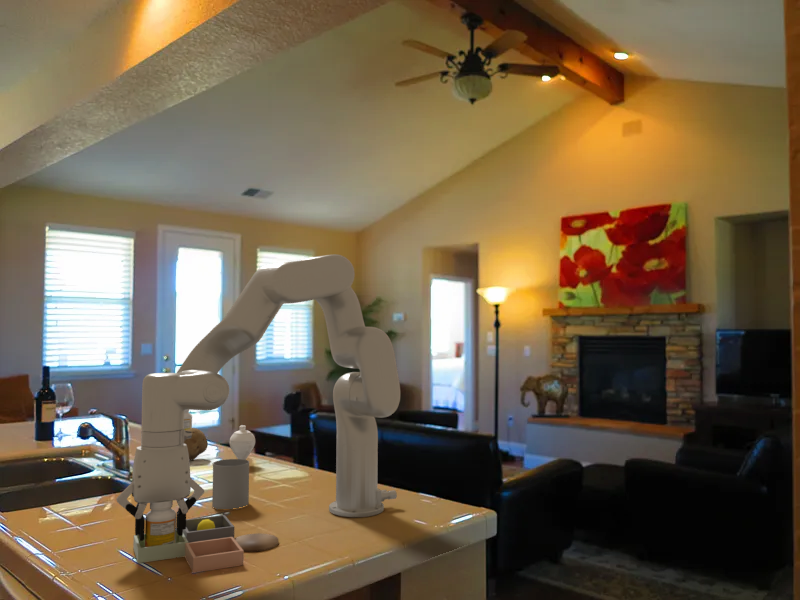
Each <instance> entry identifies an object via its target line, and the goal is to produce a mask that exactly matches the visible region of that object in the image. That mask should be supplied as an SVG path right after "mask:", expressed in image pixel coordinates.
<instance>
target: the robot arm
mask: <svg viewBox="0 0 800 600" xmlns="http://www.w3.org/2000/svg"><path fill="white" fill-rule="evenodd" d="M355 274H356V273H355V268H354V265H353V263H352V262H351V260H349V259H348V258H347V257H345V256H344V255H341V254H335V253H334V254H326V255H318V256H312V257H307V258H303V259H300V260H295V261H294V260H293V261H284V262H277V263H271V264H270V263H269V264H266V265H263V266H261V267H260V268H258V269H257V270H256V271H255V272H254V273H253V275H252V276H251V278H250V279H249V280H248V282H247V284H245V287H244V288H243V290H242V291H241V292H240V294H239V295H238V297H237V298H236V299H235V301H234V302H233V304H232V306H231V307H230V309H229V310H228V312H227V313H226V314H225V316H224V317H223V318H222V320H221V321H219V322H218V324H216V325H215V326H214V327H213V328H212V329H211V330H210V331H209V333H207V334H206V335H205V336H204V337H203V338H202V339H201V340H200V341H198V343H197V344H196V345H195V346H194V348H192V350H190V352H189V354H188V356H186V358H185V359H184V361H183V363H182V364H181V366H180V367H179V368H178V370H177V372H155V373H149V374H146V375H145V377H143V380H142V386H141V387H142V388H141V389H142V391H141V394H142V395H141V436H140V437H141V438H140V445H139V446H136V449H135V453H134V458H133V467H132V476H131V477H132V478H131V480H132V481H131V482H130V484H129V485H127V487H125V489H124V490H123V491H122V492H121V493H120V494H119V495H118V496H117V497H116V502H117V504H119V505H120V506H121V508H123V509H125V510H126V511H127V512H128V513H129V514H130V515H131V516H133V518H135V520H134V521H135V522H134V535H135V536H137V535H139V539H140V541H143V540H144V534H145V522H146V518H145V517H144V512H145V510H146V508H147V505H148V504H150V503H154V502H163V501H172V500H173V501H176V503H177V505H178V509H177V511H176V532H177V534H178V535H179V536H182V535H183V530H184V529H186V519H187V513H189V511H190V509H191V508H192V507H193V506H194V505H195V504H196V502H197V501H198V500H199V499H200V498H202V496H203V495H204V494H205V489H204V488H203V487H201V486H200V485H199V484H198V483H197V482H196V481H195V480H194V479H193V478H192V477H191V464H190V460H189V454H188V448H187V444H184V441H185V439H187V438H191V437H192V432H191V431H185V430H184V410H189V411H191V410H192V411H212V410H215V409H218V408H221V406H223V405H224V404H225V403H226V401H227V400H228V398H229V395H230V386H229V383H228V381H227V379H226V378H225V377H223V376H222V375H221V374H219V372H220V371H221V370H222V369H223V368H224V366H225V365H226V364H227V363H228V362H229V361H230V360H231V359H233V358H234V357H235V356H237V355H238V354H241V353H242V352H244V351H247V350H249V349H250V348H251V347H253V346H255V345H256V344H258V343H259V342H260V341H261V340H262V338H263V336H264V334H265V333H266V332H267V330H268V328H269V326H270V325H271V323H272V322H273V321H274V319H275V317H276V316H277V314H278V313H279V311H280V309H281V308H282V306H283V305H286V304H296V303H303V302H309V301H314V300H315V301H316V302H317V303H318V305H319V307H320V308H321V311H322V312H323V316H324V320H325V324H326V329H327V336H328V341H329V346H330V347H329V348H330V353H331V357H332V359H333V361H334V362H335V363H336V364H337V365H338V366H340V367H343V368H346V369H347V368H349V369H358V370H359V371H352V372H347V373H344V374H343V375H341V376H339V378H338V379H337V380H336V382H335V384H334V386H333V391H332V400H333V401H332V402H333V407H334V408H333V409H334V413H335V420H336V421H335V422H336V425H335V426H336V449H335V450H336V458H335V459H336V463H335V464H336V465H335V467H336V468H335V470H336V471H335V472H336V473H335V474H336V475H335V483H336V484H335V485H336V486H335V487H336V488H335V501H332V502H331V503H330V504H329V505H328V511H329V512H330V513H331V514H332V515H334V516H339V517H343V518H344V517H345V518H365V517H367V518H368V517H372V516H376V515H378V514H381V513H383V511H385V510H384V509H385V505H384V503H383V502H384V501H385V500H395V499H397V497H398V496H397V495H398V494H397V491H396V490H395V489H394V490H393V489H392V490H388V491H387V489H379V488H378V466H379V465H378V461H379V460H378V453H379V452H378V449H379V447H378V446H379V445H378V444H379V431H378V424H377V421H376V418H382V419H383V418H387V417H390V416H392V414H394V413H395V412H396V411H397V410H398V407H399V404H400V402H401V385H400V384H401V383H400V379H399V372H398V366H397V362H396V361H397V360H396V355H395V351H394V350H395V349H394V346H393V343H392V340H391V339H390V337H389V336H388V334H387V333H386V332H385V331H384V330H383V329H380V328H378V327H375V326H366V325H365V322H364V316H363V312H362V308H361V304H360V301H359V298H358V296H357V293H355V291H354V289H353V287H352V285H353V283H354V280H355ZM191 490H193V493H192V494H191ZM131 495H132V498H133V501H134V502H135V503H136V505H134V504H133V503H132V502H130V501H129V500H128V498H129V497H130V496H131ZM186 498H187V499H186Z"/></svg>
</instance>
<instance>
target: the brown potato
mask: <svg viewBox="0 0 800 600" xmlns="http://www.w3.org/2000/svg"><path fill="white" fill-rule="evenodd" d="M185 431H191V432H192V437H191V438H187V439H185V441H184V444H187V448H188V454H189V461H194V460H195V459H196V458H197V457H198V456H199V455H201V454H203V453H204V452H206V451H207V448H208V444H209V443H208V440H207V437H206V435H205V433H204V432H203V431H202V430H200V429H199V428H195V427H192V428H190V429H187V430H185Z"/></svg>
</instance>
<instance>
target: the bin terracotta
mask: <svg viewBox="0 0 800 600" xmlns="http://www.w3.org/2000/svg"><path fill="white" fill-rule="evenodd" d="M234 538H235V537H234ZM234 538H233V537H227V538H220V539H212V540H205V541H198V542H190V543H185V556H184V558H185V561H186V562H187V564H188V566H189V567H190V570H191V572H192V573H194V574H195V573H200V572H207V571H213V570H221V569H226V568H231V567H238V566H243V565H244V557H245V556H244V550H243V549H242V548H241V547H240V545H239V544H238V543H237V542H236V540H235V539H234Z"/></svg>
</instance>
